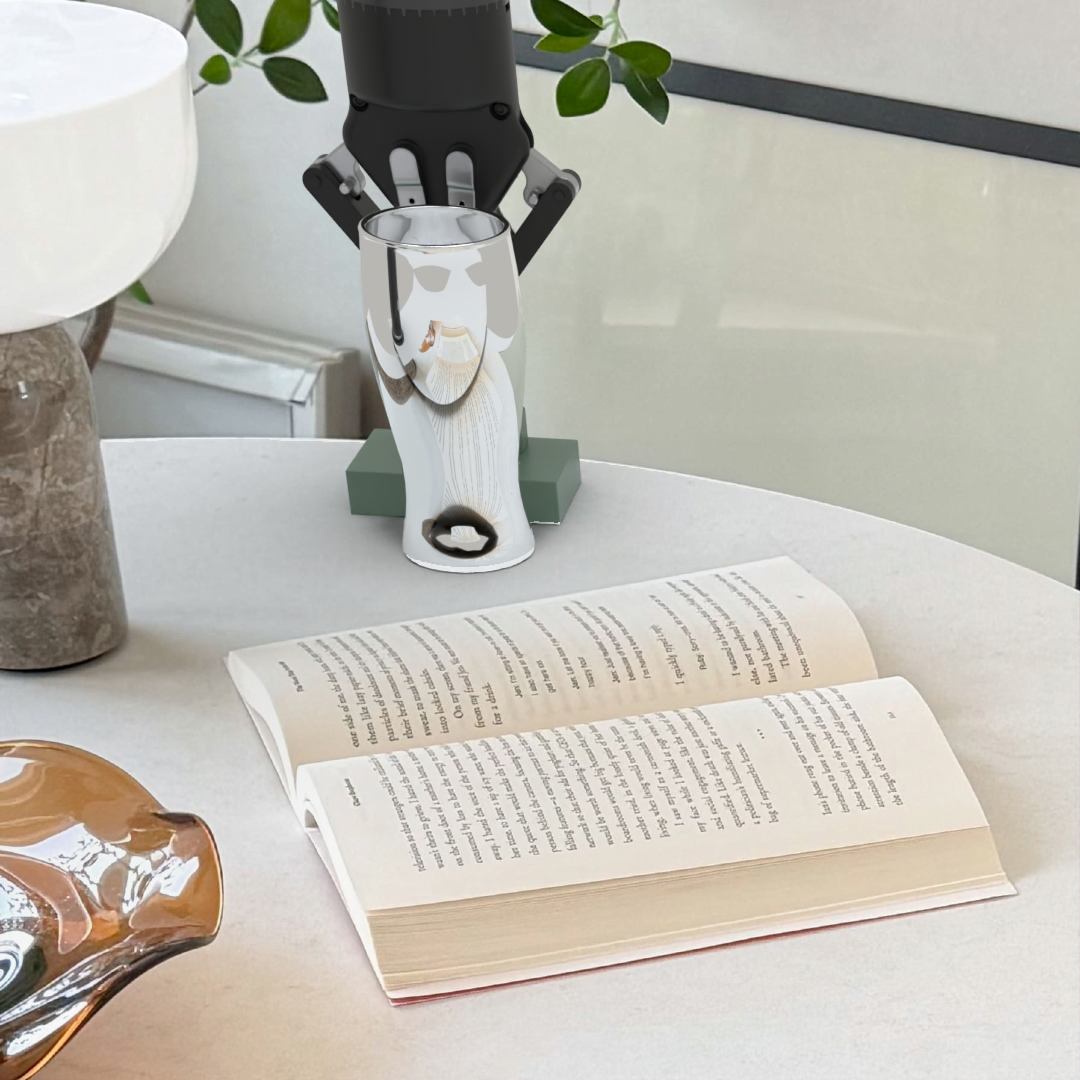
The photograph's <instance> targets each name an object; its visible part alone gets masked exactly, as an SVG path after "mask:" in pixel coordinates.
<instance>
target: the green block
mask: <svg viewBox="0 0 1080 1080" xmlns="http://www.w3.org/2000/svg"><path fill="white" fill-rule="evenodd" d="M528 435H529V434H528V424H527V413H526V408H525V406H523V411H522V422H521V433H520V449H519V462H520V463H519V470H520V482H521V489H522V494H523V499H524V503H525V507H526V510H527V514H528V517H529V521H530V522H534V521H539V522H554V523H558V522H561V521H562V522H563V520H564V519H565V516H566V515H567V512H568V509H569V508H570V506H571V503H572V501H573V499H574V498H575V495H576V494H577V491H578V489H579V488H580V485H581V483H582V474H581V463H580V462H581V461H580V449H579V441H578V439H573V438H571V439H569V438H554V437H553V438H552V437H536V436H535V437H533V436H528ZM344 472H345V478H346V486H347V493H348V501H349V509H350V514H351V515H357V516H377V517H392V516H405V489H404V479H403V473H402V468H401V462H400V458H399V454H398V451H397V447H396V444H395V440H394V437H393V433H392V430H391V428H373V430H372V431H371V432H370V434H369V436H368V437H367V438H366V440H365V442H364V443H363V444H362V446H361V447H360V448H359V450H358V452H357V454H356V455H355V456H354V457H353V459H352V461H351V462H350V463H349V465H348V466H347V468H346V469H345V471H344ZM564 515H565V516H564ZM562 519H563V520H562ZM562 522H561V523H562Z"/></svg>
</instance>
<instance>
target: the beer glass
mask: <svg viewBox="0 0 1080 1080" xmlns="http://www.w3.org/2000/svg"><path fill="white" fill-rule="evenodd" d="M358 230H359V241H360V250H359V265H360V266H359V267H360V285H361V300H362V307H363V308H362V309H363V310H362V311H363V321H364V329H365V333H366V340H367V346H368V347H367V348H368V352H369V356H370V360H371V364H372V368H373V371H374V372H373V373H374V377H375V381H376V383H377V387H378V391H379V394H380V397H381V401H382V404H383V408H384V411H385V414H386V417H387V421H388V425H389V427H390V429H391V430H392V433H393V437H394V440H395V444H396V447H397V451H398V454H399V458H400V462H401V468H402V473H403V479H404V489H405V516H404V517H403V518H404V519H403V532H402V542H401V543H402V551H403V554H404V553H406V555H408V556H409V557H410V558H413V559H415V560H420V561H422V562H427V563H431V564H436V565H442V566H451V567H479V566H489V565H495V564H500V563H504V562H508V561H511V560H514V559H517V558H519V557H521V556H523V555H525V554H526V553H528V552H529V551H530V550H531V549H532V548H533V547H534V544H535V545H536V540H535V535H534V532H533V528H532V524H530V521H529V517H528V514H527V510H526V507H525V503H524V499H523V494H522V489H521V482H520V470H519V463H520V462H519V449H520V433H521V422H522V411H523V407H524V398H525V397H524V396H525V385H526V384H525V383H526V362H527V342H526V326H525V325H526V324H525V312H524V305H523V296H522V289H521V282H520V276H518V270H517V264H516V259H515V253H514V248H513V242H512V237H513V236H512V225H511V223H510V222H509V220H508V219H507V218H506V217H504V216H502V215H500V214H499V213H497V212H495V211H494V212H491V211H487V210H484V209H479V208H474V207H468V206H460V205H447V204H420V205H407V206H399V207H394V206H393V207H388V208H384V209H380V211H377V212H374V213H371V214H369V215H367V216H365V217H364V218H362V219H361V220H360V222H359V223H358Z"/></svg>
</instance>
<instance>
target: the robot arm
mask: <svg viewBox="0 0 1080 1080" xmlns="http://www.w3.org/2000/svg"><path fill="white" fill-rule="evenodd" d="M510 1H511V0H336V8H337V16H338V25H339V33H340V40H341V48H342V57H343V64H344V71H345V79H346V87H347V94H348V103H349V104H348V111H347V115H346V117H345V119H344V121H343V123H342V130H341V134H342V140H343V142H341V143H340V144H338V146H336V147H335V148H334V149H333V150H331V151H330V152H329V153H323V154H320V155H319V156H318V157H317V158H316V159H315V160H314V161H313V162H312V163H311V164H310V165H309V166H308V167H306V169H305V170H304V172H303V173H302V177H301V180H302V185H303V187H304V188H305V189H306V190H307V192H308V193H309V194H310V195H311V197H313V199H315V201H316V202H317V204H318V205H319V206H320V207H321V208H322V209H323V210H324V211H325V212H326V213H327V215H328V216H329V217H330V218H331V220H333V222H334V223H335V224H336V225H337V226H338V227H339V229H340V230H341V231H342V232H343V233H344V235H346V236H347V238H348V239H349V240H350V242H352V243H353V244H354V246H355V247H356V248H357V250H359V251H360V241H359V230H358V223H359V222H360V220H361V219H362V218H364V217H365V216H367V215H369V214H371V213H374V212H377V211H380V210H381V207H379V206H378V205H377V203H376V202H375V201H374V200H373V199H372V198H371V196H370V195H369V194H368V193H367V191H365V188H366V184H367V180H366V176H365V175H364V173H363V171H364V172H365V174H366V175H367V176H368V177H369V178H370V179H371V181H372V182H373V184H374V185H375V186H376V187H377V189H379V191H380V192H381V193H382V195H383V196H384V197H385V198H386V199H387V201H388V202H389V203H390V204H391V206H393V207H399V206H407V205H420V204H447V205H460V206H468V207H474V208H479V209H484V210H487V211H491V212H494V213H495V211H496V210H497V209H498V208H499V206H500V205H501V204H502V202H503V200H504V198H505V197H506V195H507V194H508V192H509V191H510V189H511V187H512V186H513V184H514V183H515V182H516V179H517V178H518V177H519V175H520V174H521V172H522V173H523V174H524V177H525V186H524V188H523V191H522V198H523V200H524V202H525V204H526V205H527V206H528V207H530V208H531V210H530V212H529V213H528V215H527V216H526V218H525V219H524V221H523V222H521V224H520V226H519V227H518V229H517V230H516V232H515V233H514V235H513V236H512V242H513V248H514V253H515V259H516V264H517V270H518V276H519V277H521V275H522V274H523V272H524V271H525V269H526V268H527V267H528V265H529V263H530V262H531V261H532V259H533V258H534V257H535V255H536V253H537V252H538V251H539V250H540V249H541V247H542V245H544V243H545V242H546V240H547V238H548V237H549V236H550V235H551V233H552V232H553V230H554V229H555V228H556V226H557V224H558V223H559V222H560V220H561V219H562V217H563V216H564V215H565V213H566V211H568V209H569V207H570V206H571V205H572V203H573V202H574V201H575V199H576V197H577V195H578V194H579V193H580V190H581V189H582V179H581V177H580V175H579V174H578V173H577V171H575V170H573V169H572V168H571V169H570V168H562V169H560V167H558V166H557V165H556V164H554V163H553V162H552V161H551V160H550V159H548V158H547V157H546V156H544V155H543V154H542V153H541V152H540V151H538V150H537V149H536V148H535V137H534V134H533V130H532V129H531V127H530V125H529V123H528V122H527V120H526V118H525V116H524V114H523V113H522V109H521V105H520V100H519V99H520V97H519V86H518V77H517V65H516V64H517V63H516V54H515V44H514V42H515V41H514V33H513V23H512V22H513V21H512V12H511V2H510ZM361 168H362V170H363V171H362V170H361Z"/></svg>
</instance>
